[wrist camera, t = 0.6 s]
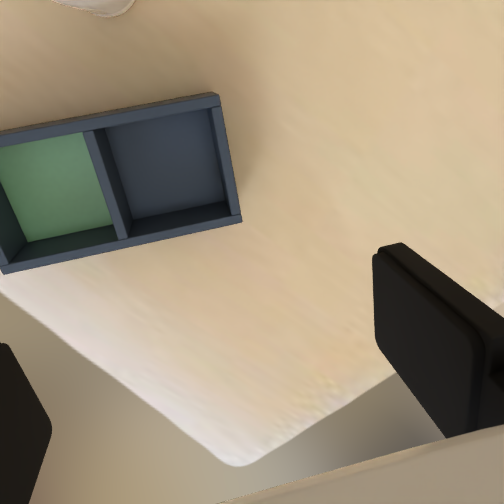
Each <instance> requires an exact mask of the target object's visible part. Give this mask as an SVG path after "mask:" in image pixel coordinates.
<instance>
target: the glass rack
mask: <svg viewBox="0 0 504 504" xmlns="http://www.w3.org/2000/svg"><path fill="white" fill-rule="evenodd" d="M237 223H242V216H241V210H240V205H239V200H238V194H237V189H236V183H235V178H234V172H233V167H232V162H231V156H230V151H229V145H228V140H227V135H226V129H225V124H224V118H223V113H222V107H221V102H220V97H219V95H218V94H216V93H214V92H207V93H202V94H197V95H191V96H186V97H180V98H175V99H170V100H164V101H159V102H154V103H148V104H143V105H137V106H132V107H127V108H121V109H116V110H110V111H105V112H100V113H94V114H89V115H84V116H78V117H73V118H67V119H62V120H57V121H51V122H46V123H40V124H35V125H30V126H24V127H19V128H14V129H8V130H3V131H0V269H1V271H2V273H3V275H5V274H9V273H14V272H18V271H23V270H28V269H32V268H37V267H41V266H46V265H50V264H55V263H59V262H64V261H69V260H73V259H78V258H82V257H87V256H91V255H96V254H100V253H105V252H110V251H114V250H119V249H123V248H128V247H132V246H137V245H142V244H146V243H151V242H155V241H160V240H164V239H169V238H173V237H178V236H183V235H187V234H192V233H196V232H201V231H205V230H210V229H215V228H219V227H224V226H228V225H233V224H237Z"/></svg>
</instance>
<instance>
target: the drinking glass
mask: <svg viewBox="0 0 504 504" xmlns="http://www.w3.org/2000/svg"><path fill="white" fill-rule="evenodd" d="M51 1H53V2H56V3H58V4H61V5H64V6H68V7H71V8H76V9H80V10H84V11H87V12H89V13H91V14H94V15H97V16H100V17H115V16H118V15H121V14H123V13H124V12H126V11H127V10H128V9H129V8H130V7H131V6H132V5H133V4H134V2H135V0H51Z"/></svg>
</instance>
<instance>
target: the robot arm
mask: <svg viewBox="0 0 504 504" xmlns="http://www.w3.org/2000/svg"><path fill="white" fill-rule="evenodd" d="M372 270H373V298H374V326H375V339H376V342H377V345H378V347H379V349H380V350H381V352H382V353H383V354H384V356H385V357H386V358H387V360H388V361H389V362H390V364H391V365H392V366H393V368H394V369H395V370H396V372H397V373H398V374H399V376H400V377H401V378H402V380H403V381H404V382H405V384H406V385H407V386H408V388H409V389H410V390H411V392H412V393H413V395H414V396H415V397H416V398H417V400H418V401H419V403H420V404H421V405H422V407H423V408H424V409H425V411H426V412H427V413H428V415H429V416H430V417H431V419H432V420H433V421H434V423H435V424H436V425H437V427H438V428H439V429H440V431H441V432H442V433H443V435H444V436H445V437H446V439H444V440H440V441H436V442H432V443H429V444H425V445H421V446H417V447H413V448H410V449H406V450H403V451H399V452H396V453H392V454H388V455H385V456H381V457H378V458H374V459H371V460H367V461H364V462H360V463H357V464H353V465H350V466H346V467H343V468H339V469H336V470H332V471H329V472H325V473H322V474H318V475H315V476H311V477H308V478H304V479H301V480H297V481H294V482H290V483H286V484H283V485H280V486H276V487H273V488H269V489H266V490H262V491H259V492H255V493H252V494H248V495H245V496H241V497H238V498H235V499H231V500H228V501H224V502H221V503H218V504H504V318H503V317H502V316H500V315H499V314H498V313H496V312H495V311H494V310H492V309H491V308H490V307H488V306H487V305H486V304H484V303H483V302H482V301H480V300H479V299H478V298H476V297H475V296H474V295H472V294H471V293H469V292H468V291H467V290H465V289H464V288H463V287H461V286H460V285H459V284H457V283H456V282H455V281H453V280H452V279H451V278H449V277H448V276H447V275H445V274H444V273H443V272H441V271H440V270H439V269H437V268H436V267H435V266H433V265H432V264H431V263H429V262H428V261H426V260H425V259H424V258H422V257H421V256H420V255H418V254H417V253H416V252H414V251H413V250H412V249H410V248H409V247H408V246H406V245H405V244H403V243H396V244H392V245H387V246H383V247H380V248H379V249H378V252H377V254H374V255H373V257H372ZM51 434H52V425H51V421H50V419H49V417H48V415H47V414H46V412H45V410H44V408H43V406H42V404H41V403H40V401H39V399H38V397H37V395H36V394H35V392H34V390H33V388H32V387H31V385H30V383H29V381H28V379H27V377H26V376H25V374H24V372H23V370H22V368H21V367H20V365H19V363H18V361H17V359H16V358H15V356H14V354H13V352H12V351H11V348H10V347H9V346H8V345H7V344H5V343H2V344H1V343H0V504H29V501H30V498H31V495H32V492H33V489H34V486H35V483H36V480H37V477H38V474H39V471H40V468H41V465H42V462H43V459H44V456H45V453H46V450H47V447H48V444H49V441H50V438H51Z"/></svg>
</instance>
